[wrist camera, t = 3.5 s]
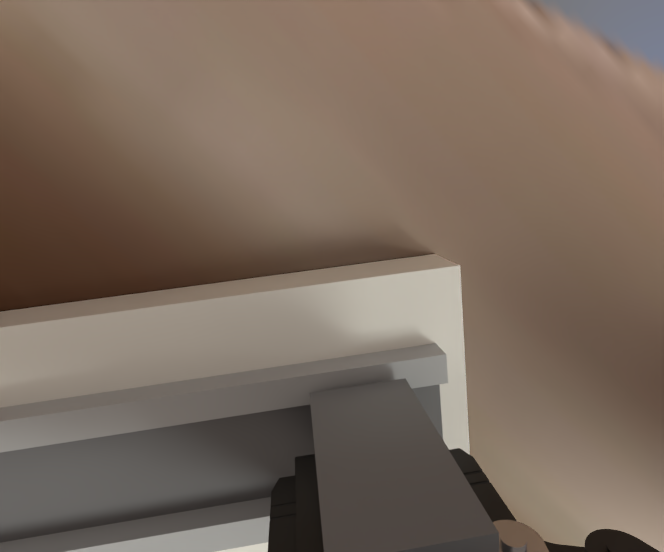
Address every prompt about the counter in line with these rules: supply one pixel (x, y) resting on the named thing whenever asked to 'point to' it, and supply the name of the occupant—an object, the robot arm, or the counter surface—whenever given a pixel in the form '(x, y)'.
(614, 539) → the robot arm
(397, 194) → the counter surface
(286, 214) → the counter surface
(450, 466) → the fader tab
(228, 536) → the fader console
